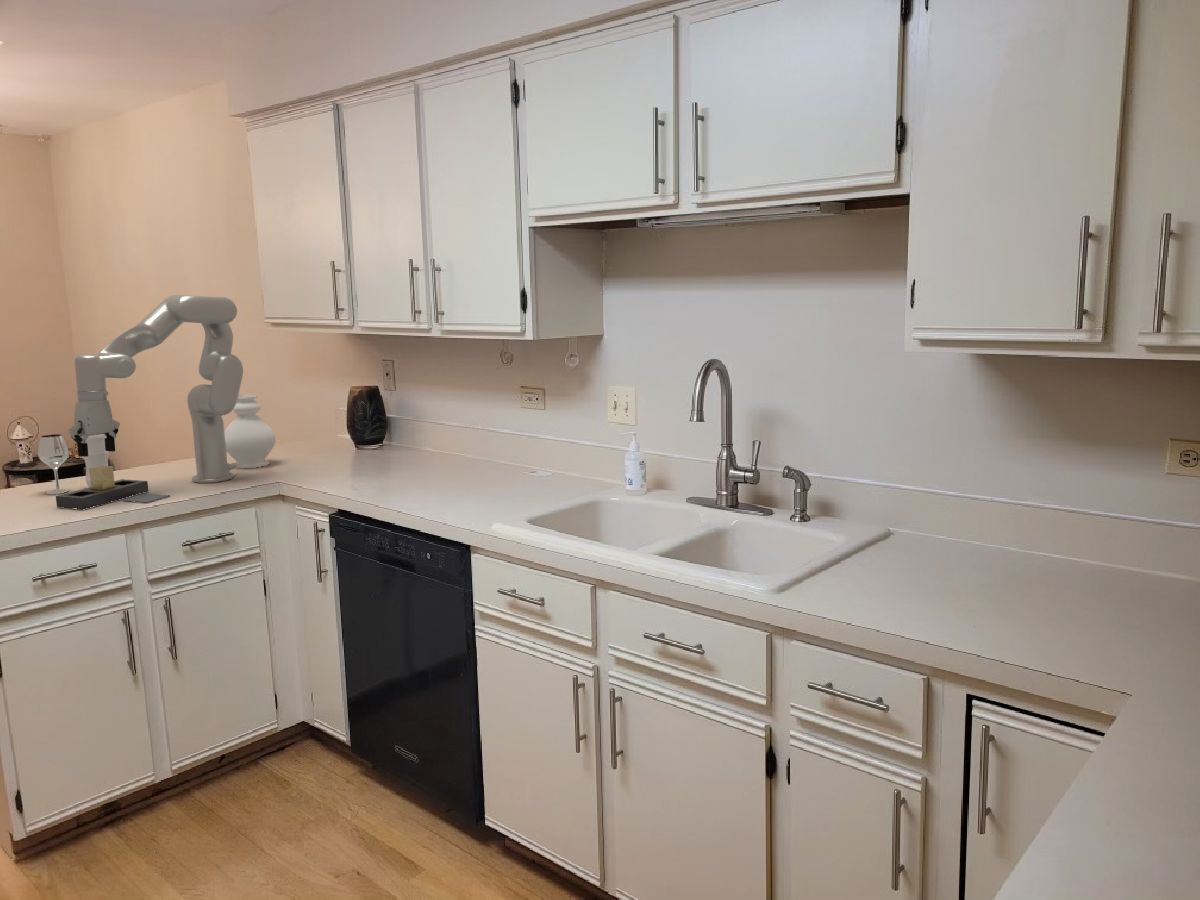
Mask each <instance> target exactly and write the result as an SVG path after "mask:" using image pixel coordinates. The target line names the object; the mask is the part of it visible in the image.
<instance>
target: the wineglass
mask: <svg viewBox="0 0 1200 900" xmlns="http://www.w3.org/2000/svg"><path fill="white" fill-rule="evenodd" d="M37 455H38V458H39V460H40V461H41V462H42V463H44V464H45V465H46V466H48V467H50V468H51V469H52V470H53V473H54V481H55V489H53V490H50V491H47V492H46V493H45V494H46V495H48V494H56V495H61V494H60V493H62V492H63V493H64V492H65V491H66V492H67V490H68V489H61V488H60V483H59V475H58V474H59V473H58V469H59V468H60V467H61V466H62V464H64V463H65V462H66V461H67V459H68V458H69V455H70V452H69V447H68V445H67V442H66V440H65V438H64V435H63V434H56V433H55V434H46V435H40V438H39V443H38V450H37ZM64 494H65V493H64Z"/></svg>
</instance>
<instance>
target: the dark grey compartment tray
mask: <svg viewBox="0 0 1200 900" xmlns="http://www.w3.org/2000/svg"><path fill="white" fill-rule="evenodd" d="M114 483H115V488H112V489H108V490H104V491H97V490H91V487H90V488H89V487H88V488H83V489H79V490H75V491H70V492H68V493H64V494H57V495H55V503H56V508H57V507H64V508H77V509H86V508H90V507H93V506H97V505H100V506H102V505H101V504H104V505H106V504H105V503H108V502H111V501H115V500H118V501H120V500H119V499H122V498H125V499H127V498H126V497H129V496H132V495H136V494H139V493H143V492H147V491H149V484H148V481H147V480H139V479H138V480H137V479H117V480H114ZM147 493H148V492H147ZM143 494H144V493H143ZM136 496H137V495H136ZM129 498H130V497H129ZM122 500H123V499H122ZM115 502H116V501H115ZM111 503H112V502H111ZM108 504H109V503H108ZM97 507H98V506H97ZM64 508H63V509H64ZM93 508H94V507H93ZM90 509H91V508H90ZM86 510H87V509H86Z"/></svg>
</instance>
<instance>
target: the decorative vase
mask: <svg viewBox="0 0 1200 900" xmlns="http://www.w3.org/2000/svg"><path fill="white" fill-rule="evenodd" d="M257 398H258V396H257V395H256V394H242V395H241V394H239V395H238V398H237V402H236V405H235V407H234V409H233V410H232V412H234V414H236V415H237V416H236V417H235V418H233V420H232V421H231V422H230V423H229V424H228V426H226V428H225V429H224V430H225V443H226V453H227V454H228V455H229V456H230V457H231V458H233V460H235V462H234V463H235V464H236V465H237V467H236V468H235V469H239V468H249V469H256V468H255V467H259V468H262V467H261V466H264V467H266V466H265V465H267V466H269V465H270V461H268V460H265V459H266V458H267V457H268V456H269V455H270V453H271V451H272V450H273V449H274V447H275V444H276V434H275V432H274V430H273V429H272V427H271V426H270V425H269V424H268V423H267V422H266V421H265V420H264V419H263V418H261V417H260V416H259V415H258V412H259V411H260V410H261V404H260V403H259V402H258V401H256V400H255V399H257ZM268 464H269V465H268Z"/></svg>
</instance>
